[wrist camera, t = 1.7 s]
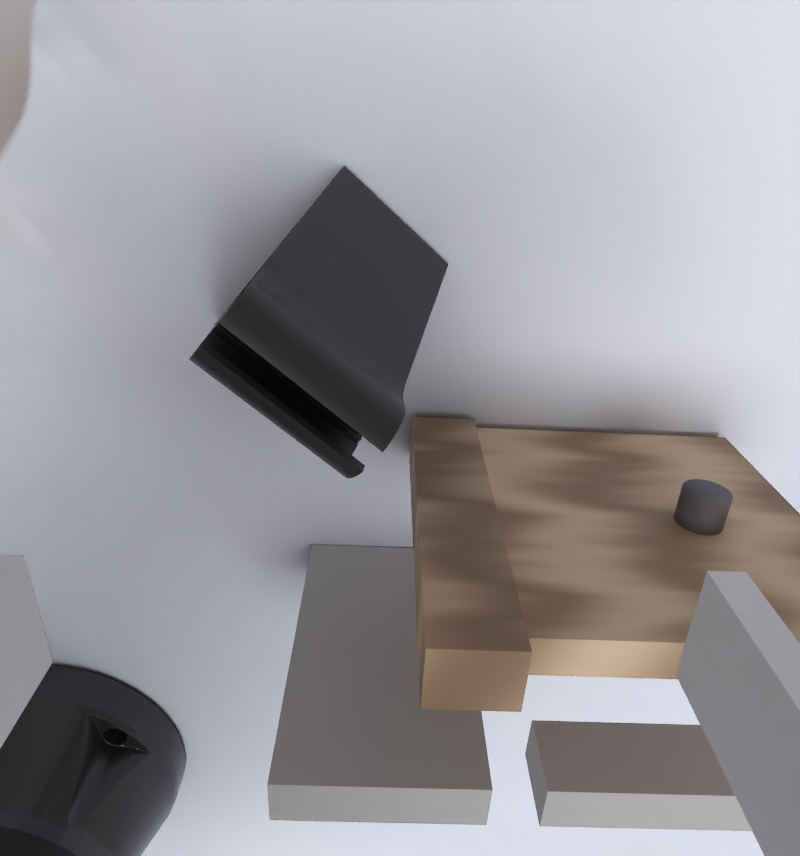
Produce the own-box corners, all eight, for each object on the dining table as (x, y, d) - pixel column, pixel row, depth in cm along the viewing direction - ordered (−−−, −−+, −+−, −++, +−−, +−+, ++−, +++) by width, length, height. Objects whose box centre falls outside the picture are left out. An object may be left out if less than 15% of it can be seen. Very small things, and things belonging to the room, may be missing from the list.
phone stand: (345, 164, 27) (313, 207, 16) (448, 262, 29) (480, 359, 18) (217, 319, 30) (119, 441, 19) (318, 400, 32) (280, 552, 21)
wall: (312, 573, 37) (269, 820, 24) (311, 544, 36) (267, 784, 23) (872, 592, 38) (1111, 839, 25) (885, 564, 37) (1140, 806, 24)
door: (409, 459, 33) (420, 708, 19) (413, 398, 31) (428, 623, 18) (714, 471, 33) (930, 723, 20) (732, 411, 32) (979, 640, 18)
